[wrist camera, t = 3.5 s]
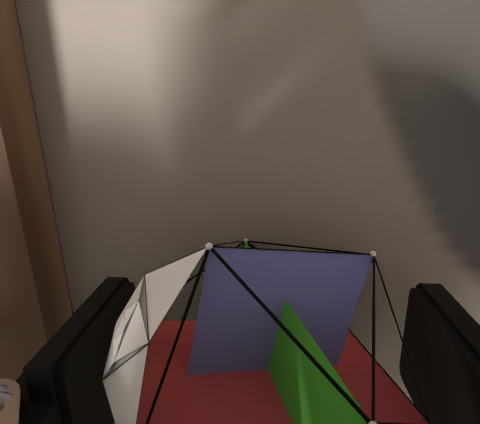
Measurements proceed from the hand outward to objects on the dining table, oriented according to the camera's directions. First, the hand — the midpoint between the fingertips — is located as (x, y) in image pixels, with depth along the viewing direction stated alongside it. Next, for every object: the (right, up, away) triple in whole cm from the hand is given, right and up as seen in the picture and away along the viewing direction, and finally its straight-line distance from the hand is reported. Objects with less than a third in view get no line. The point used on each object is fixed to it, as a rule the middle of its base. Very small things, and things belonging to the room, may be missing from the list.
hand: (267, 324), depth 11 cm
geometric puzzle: (0, 0, +1) cm, 1 cm away
